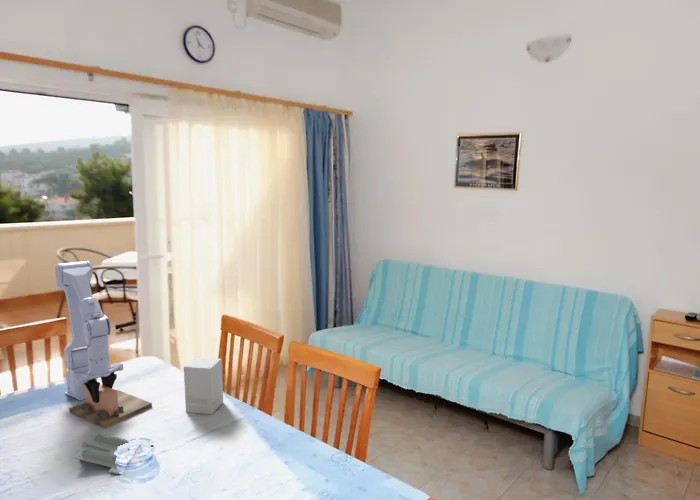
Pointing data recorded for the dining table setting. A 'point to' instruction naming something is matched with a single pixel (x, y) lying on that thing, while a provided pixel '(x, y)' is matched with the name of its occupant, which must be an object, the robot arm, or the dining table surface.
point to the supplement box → (203, 385)
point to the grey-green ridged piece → (101, 451)
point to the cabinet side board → (126, 407)
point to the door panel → (104, 400)
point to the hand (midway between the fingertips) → (101, 399)
